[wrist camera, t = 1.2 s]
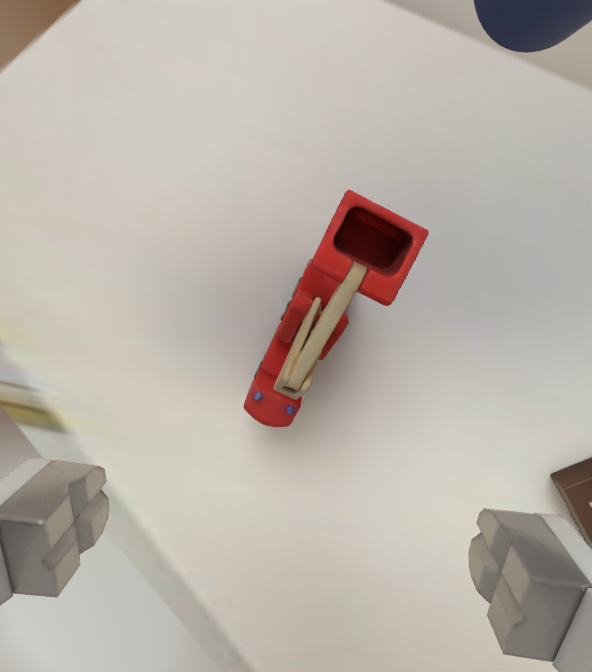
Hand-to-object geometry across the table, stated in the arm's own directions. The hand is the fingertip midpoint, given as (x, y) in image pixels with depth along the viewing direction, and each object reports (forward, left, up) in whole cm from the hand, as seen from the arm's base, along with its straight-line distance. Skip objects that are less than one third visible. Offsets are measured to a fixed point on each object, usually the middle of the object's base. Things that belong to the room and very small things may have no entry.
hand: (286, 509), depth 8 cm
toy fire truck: (0, 0, -16) cm, 16 cm away
